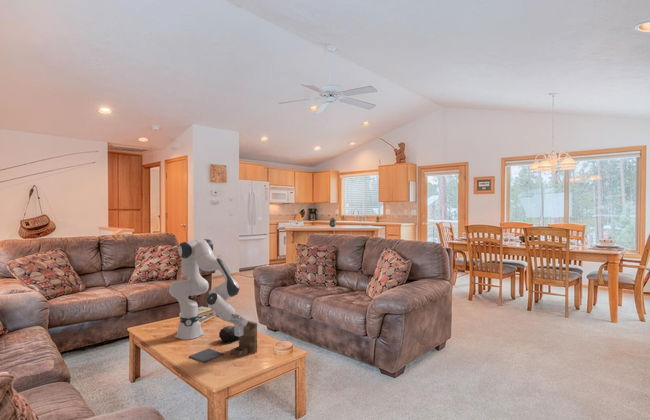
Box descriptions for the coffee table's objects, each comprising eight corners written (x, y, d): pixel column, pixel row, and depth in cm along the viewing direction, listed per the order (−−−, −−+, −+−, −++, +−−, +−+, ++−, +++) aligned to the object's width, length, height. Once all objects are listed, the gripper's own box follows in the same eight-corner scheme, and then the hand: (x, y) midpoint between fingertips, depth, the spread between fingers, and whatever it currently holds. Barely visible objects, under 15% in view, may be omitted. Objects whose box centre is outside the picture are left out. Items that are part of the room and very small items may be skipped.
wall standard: (242, 358, 214) (242, 328, 214) (226, 353, 222) (226, 323, 222) (257, 352, 224) (257, 323, 224) (241, 347, 232) (241, 319, 232)
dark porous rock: (247, 337, 249) (247, 323, 248) (225, 345, 235) (225, 330, 234) (237, 334, 255) (237, 320, 255) (216, 341, 241) (216, 326, 241)
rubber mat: (189, 357, 216) (189, 355, 216) (208, 349, 228) (208, 348, 228) (204, 363, 208) (204, 361, 208) (223, 354, 220) (223, 353, 220)
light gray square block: (238, 336, 219) (238, 320, 218) (234, 335, 221) (234, 318, 221) (243, 334, 222) (243, 318, 222) (239, 333, 224) (239, 317, 224)
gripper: (242, 311, 209) (254, 323, 218) (219, 305, 221) (231, 317, 229) (236, 321, 206) (249, 333, 214) (213, 314, 217) (226, 326, 226)
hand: (239, 325), depth 222 cm, fingers closed on light gray square block, 4 cm apart
